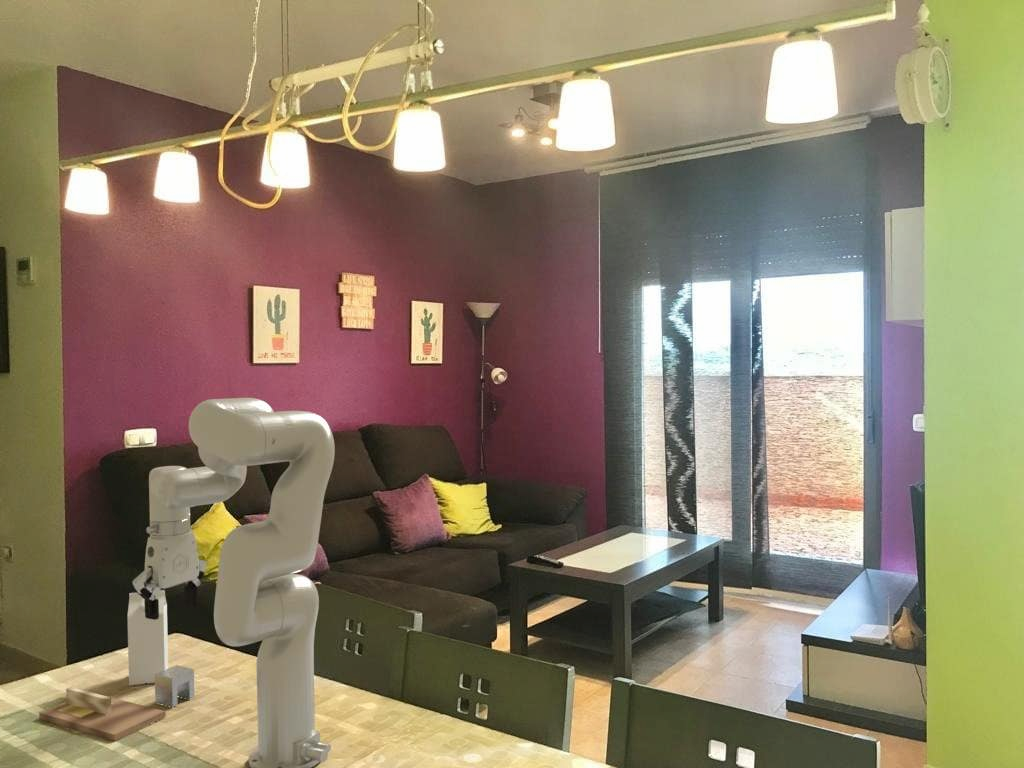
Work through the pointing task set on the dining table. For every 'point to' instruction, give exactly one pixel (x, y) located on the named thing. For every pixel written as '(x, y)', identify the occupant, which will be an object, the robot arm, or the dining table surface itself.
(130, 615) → the milk carton
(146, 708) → the rail board
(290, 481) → the robot arm
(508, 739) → the dining table surface
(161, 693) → the notched grey block
